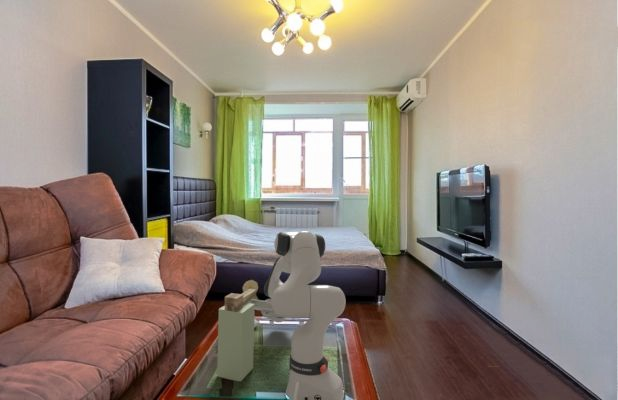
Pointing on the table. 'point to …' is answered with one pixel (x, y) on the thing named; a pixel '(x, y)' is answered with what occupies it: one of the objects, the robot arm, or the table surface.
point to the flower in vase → (251, 285)
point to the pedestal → (235, 342)
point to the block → (238, 300)
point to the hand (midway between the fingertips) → (259, 302)
